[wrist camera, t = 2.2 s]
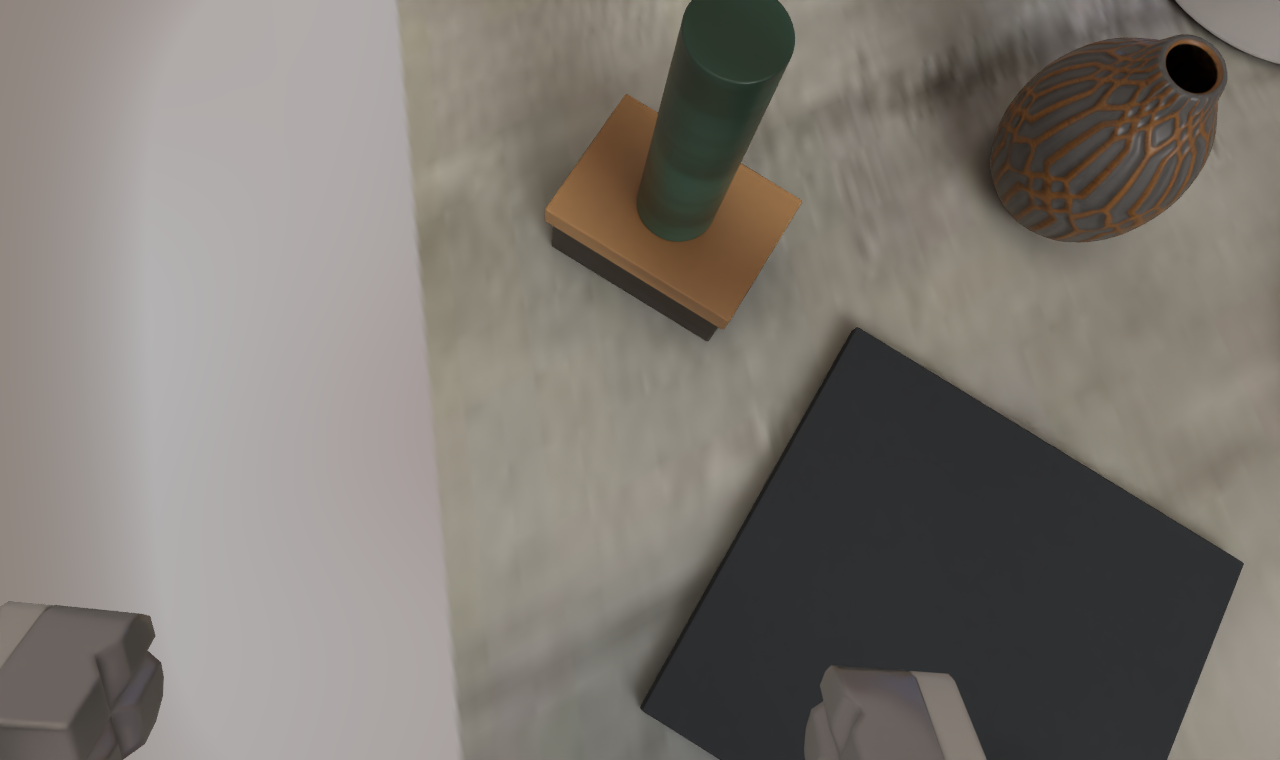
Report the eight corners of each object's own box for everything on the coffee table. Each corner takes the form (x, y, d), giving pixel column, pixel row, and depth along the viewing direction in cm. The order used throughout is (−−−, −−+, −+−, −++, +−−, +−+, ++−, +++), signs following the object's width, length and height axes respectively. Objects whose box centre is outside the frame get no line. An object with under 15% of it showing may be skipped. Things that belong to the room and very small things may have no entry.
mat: (851, 330, 35) (857, 325, 34) (1233, 563, 34) (1245, 563, 34) (639, 707, 31) (641, 710, 30) (1068, 977, 30) (1079, 985, 30)
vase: (941, 126, 37) (1061, -11, 29) (1087, 97, 39) (1243, -43, 30) (997, 280, 36) (1140, 184, 28) (1147, 245, 37) (1327, 142, 29)
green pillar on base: (617, 140, 36) (665, -123, 23) (777, 238, 35) (919, 29, 22) (543, 247, 34) (548, 33, 21) (709, 349, 34) (818, 196, 21)
